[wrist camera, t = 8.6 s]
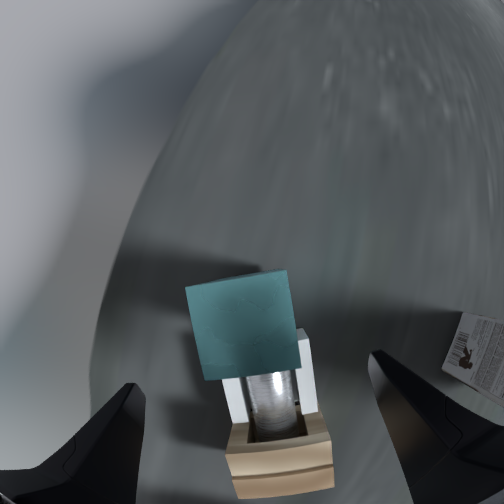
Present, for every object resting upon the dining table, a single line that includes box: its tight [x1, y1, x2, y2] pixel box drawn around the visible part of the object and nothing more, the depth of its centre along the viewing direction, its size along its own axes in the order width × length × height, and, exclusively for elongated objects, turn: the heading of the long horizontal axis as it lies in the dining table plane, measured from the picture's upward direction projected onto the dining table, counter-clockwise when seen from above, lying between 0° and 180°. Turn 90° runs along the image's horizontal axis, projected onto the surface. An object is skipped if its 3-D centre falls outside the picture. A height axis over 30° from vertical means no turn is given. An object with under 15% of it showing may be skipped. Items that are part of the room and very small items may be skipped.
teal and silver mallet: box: [185, 269, 302, 442], centre depth 15 cm, size 14×4×10 cm, turn 10°
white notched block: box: [222, 328, 318, 424], centre depth 19 cm, size 6×6×3 cm
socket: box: [225, 401, 334, 499], centre depth 17 cm, size 5×7×7 cm
